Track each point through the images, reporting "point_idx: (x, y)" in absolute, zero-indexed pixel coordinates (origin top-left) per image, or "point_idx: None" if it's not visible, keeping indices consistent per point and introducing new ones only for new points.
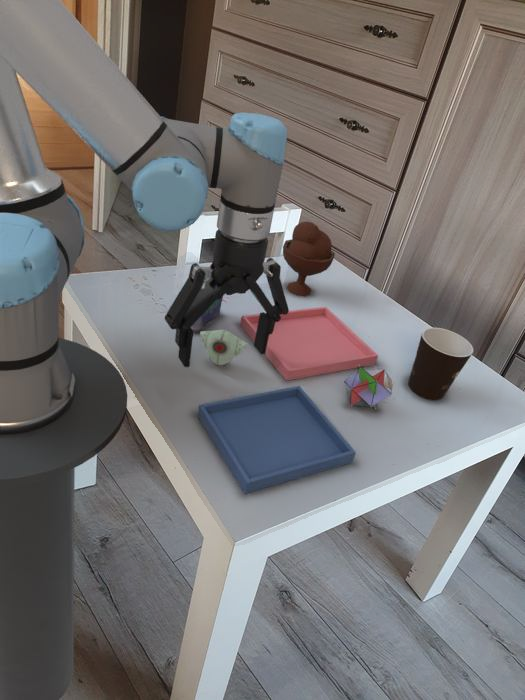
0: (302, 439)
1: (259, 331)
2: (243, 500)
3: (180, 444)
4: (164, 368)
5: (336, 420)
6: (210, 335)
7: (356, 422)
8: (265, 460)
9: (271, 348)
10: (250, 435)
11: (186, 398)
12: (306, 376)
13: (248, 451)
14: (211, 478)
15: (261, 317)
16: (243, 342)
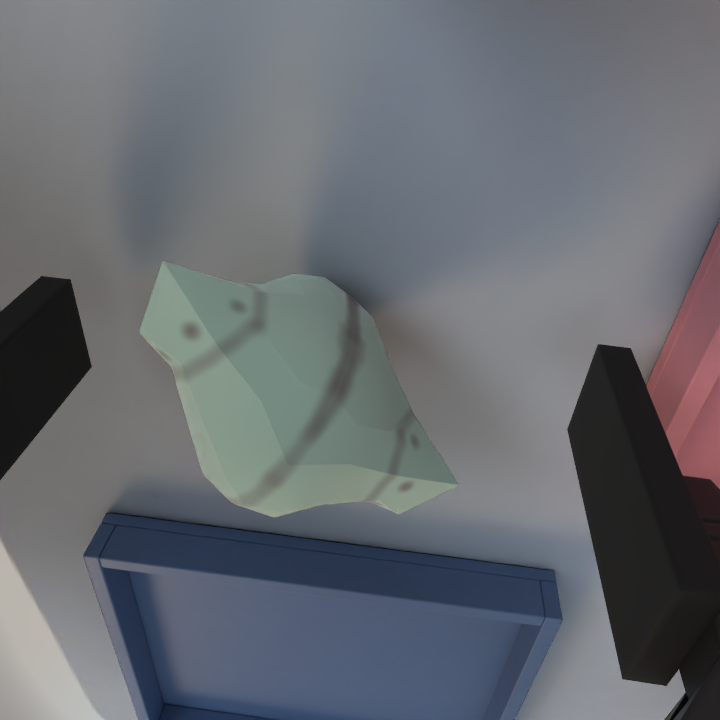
0: (397, 685)
1: (615, 479)
2: None
3: (27, 568)
4: (5, 228)
5: (584, 672)
6: (189, 399)
7: (642, 696)
8: (245, 684)
9: (697, 397)
10: (245, 632)
11: (84, 436)
12: None
13: (212, 657)
14: (92, 653)
15: (656, 584)
16: (417, 492)
